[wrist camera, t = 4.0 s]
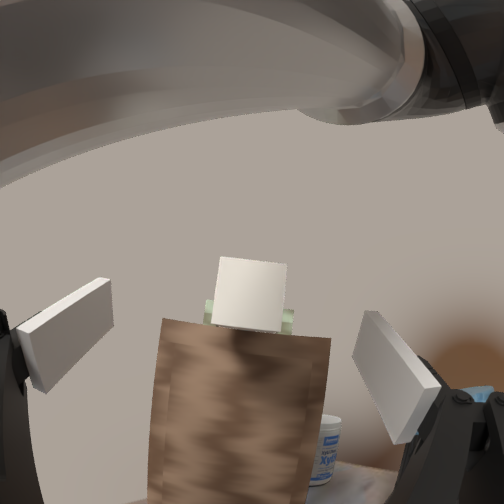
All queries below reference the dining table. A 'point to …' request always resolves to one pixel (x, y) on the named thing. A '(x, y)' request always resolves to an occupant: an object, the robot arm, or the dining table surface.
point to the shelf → (235, 414)
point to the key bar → (249, 295)
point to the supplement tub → (326, 450)
